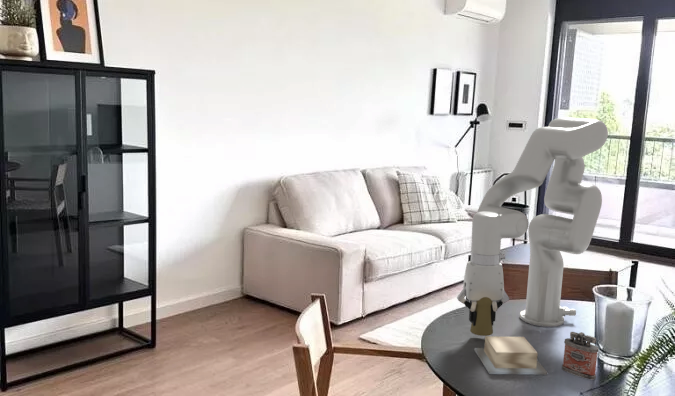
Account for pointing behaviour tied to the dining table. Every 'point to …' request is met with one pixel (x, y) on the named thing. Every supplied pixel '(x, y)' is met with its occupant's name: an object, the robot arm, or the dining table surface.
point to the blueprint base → (509, 356)
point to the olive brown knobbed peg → (483, 318)
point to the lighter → (580, 355)
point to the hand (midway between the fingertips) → (481, 323)
